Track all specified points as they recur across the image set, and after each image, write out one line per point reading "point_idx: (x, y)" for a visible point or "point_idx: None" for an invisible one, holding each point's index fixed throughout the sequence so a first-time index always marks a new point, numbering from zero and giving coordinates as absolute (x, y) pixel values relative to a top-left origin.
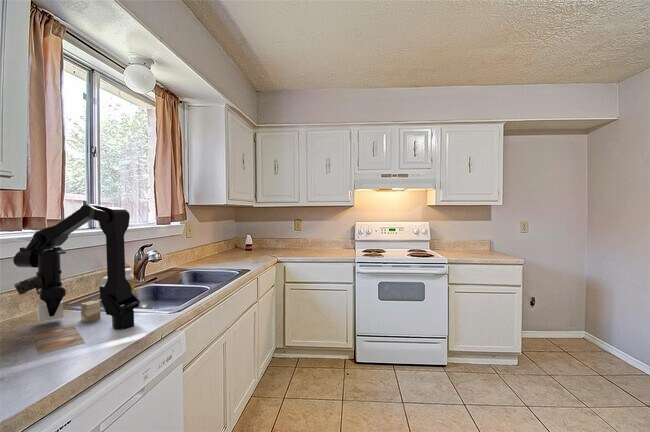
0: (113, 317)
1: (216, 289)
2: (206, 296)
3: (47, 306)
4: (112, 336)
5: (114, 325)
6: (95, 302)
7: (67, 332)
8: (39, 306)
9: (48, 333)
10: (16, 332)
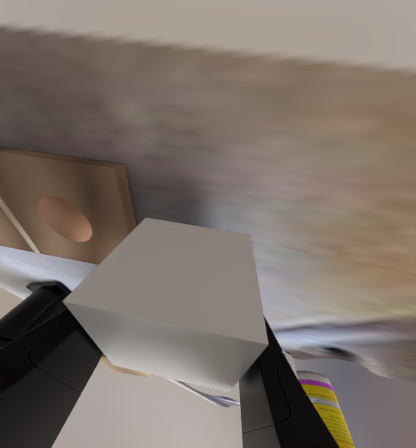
0: (5, 320)
1: (205, 396)
2: (178, 382)
3: (53, 318)
4: (25, 274)
5: (27, 299)
6: (115, 369)
7: (48, 239)
8: (65, 302)
9: (59, 204)
10: (247, 120)
